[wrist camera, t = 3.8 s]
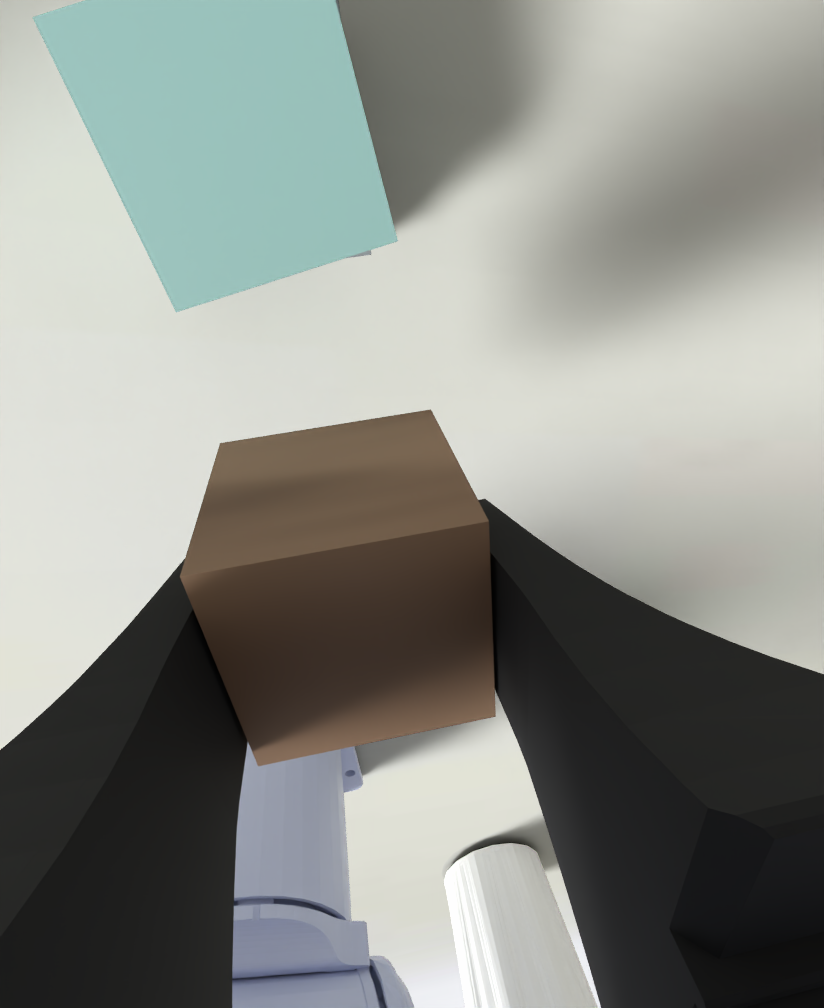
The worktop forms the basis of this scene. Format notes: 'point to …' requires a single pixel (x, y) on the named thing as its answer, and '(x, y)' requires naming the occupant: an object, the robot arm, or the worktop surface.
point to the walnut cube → (344, 585)
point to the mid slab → (226, 134)
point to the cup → (512, 933)
